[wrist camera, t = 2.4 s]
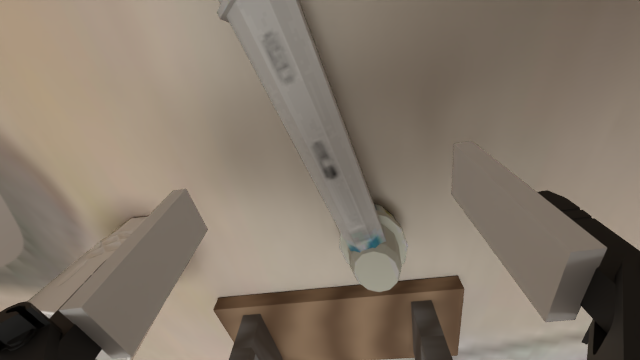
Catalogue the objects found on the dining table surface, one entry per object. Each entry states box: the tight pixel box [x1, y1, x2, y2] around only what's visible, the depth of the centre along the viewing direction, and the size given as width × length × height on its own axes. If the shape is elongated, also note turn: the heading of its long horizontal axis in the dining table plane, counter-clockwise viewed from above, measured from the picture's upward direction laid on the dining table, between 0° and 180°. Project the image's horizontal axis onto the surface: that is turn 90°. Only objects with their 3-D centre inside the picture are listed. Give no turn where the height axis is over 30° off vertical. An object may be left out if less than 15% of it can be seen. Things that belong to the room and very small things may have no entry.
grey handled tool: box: [217, 0, 408, 292], centre depth 18 cm, size 5×7×25 cm
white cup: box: [27, 217, 161, 360], centre depth 22 cm, size 8×8×10 cm
